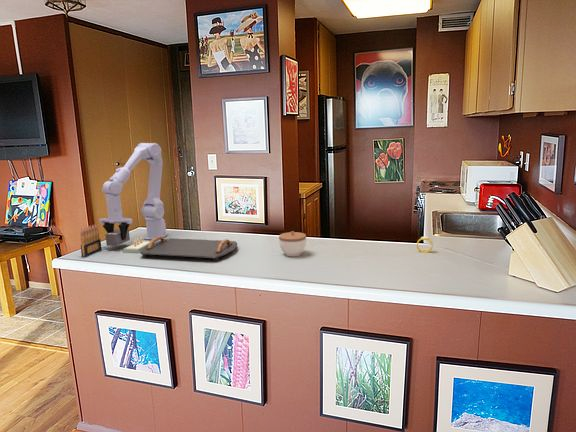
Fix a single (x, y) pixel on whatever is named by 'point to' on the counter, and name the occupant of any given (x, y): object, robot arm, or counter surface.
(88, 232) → the ammunition clip
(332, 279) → the counter surface
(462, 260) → the counter surface
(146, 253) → the serving board
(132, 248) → the pin header
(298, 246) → the lidded jar
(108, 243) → the block
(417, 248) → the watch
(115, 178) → the robot arm
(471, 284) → the counter surface
